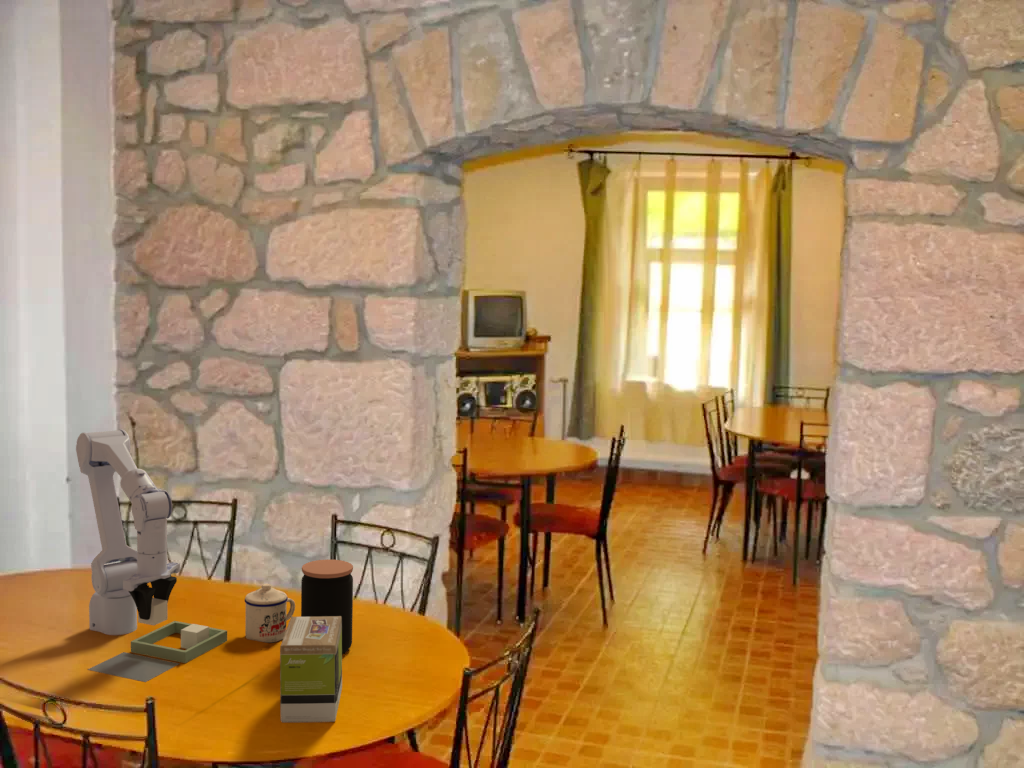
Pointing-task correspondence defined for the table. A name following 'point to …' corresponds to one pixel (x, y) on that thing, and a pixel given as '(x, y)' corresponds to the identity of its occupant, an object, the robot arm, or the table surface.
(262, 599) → the teacup with lid
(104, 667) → the slate board
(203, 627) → the stone cube far
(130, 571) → the robot arm
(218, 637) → the olive dish
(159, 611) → the stone cube near
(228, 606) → the table surface
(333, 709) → the tea box
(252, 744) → the table surface
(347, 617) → the coffee jar
